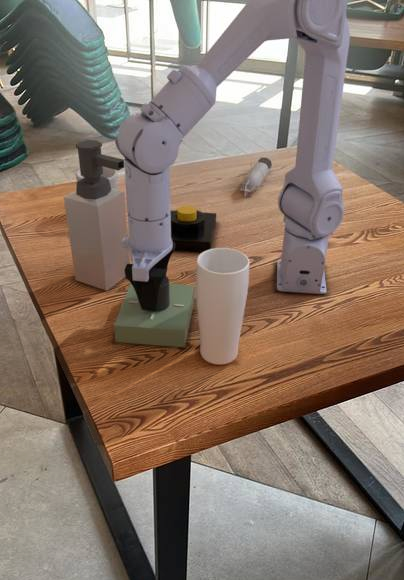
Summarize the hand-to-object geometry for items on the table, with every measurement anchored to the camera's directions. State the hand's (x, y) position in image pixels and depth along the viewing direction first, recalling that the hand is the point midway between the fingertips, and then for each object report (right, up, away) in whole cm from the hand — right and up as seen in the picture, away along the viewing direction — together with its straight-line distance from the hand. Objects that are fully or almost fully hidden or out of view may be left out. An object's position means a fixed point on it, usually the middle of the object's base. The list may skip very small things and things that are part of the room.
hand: (152, 298), depth 85 cm
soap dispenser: (-8, +4, +11) cm, 15 cm away
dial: (0, -1, 0) cm, 1 cm away
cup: (-13, +20, +30) cm, 38 cm away
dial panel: (0, -3, +2) cm, 4 cm away
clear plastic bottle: (+19, +30, +43) cm, 56 cm away
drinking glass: (+10, -8, -4) cm, 13 cm away
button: (+4, +17, +21) cm, 28 cm away
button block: (+4, +14, +23) cm, 28 cm away
